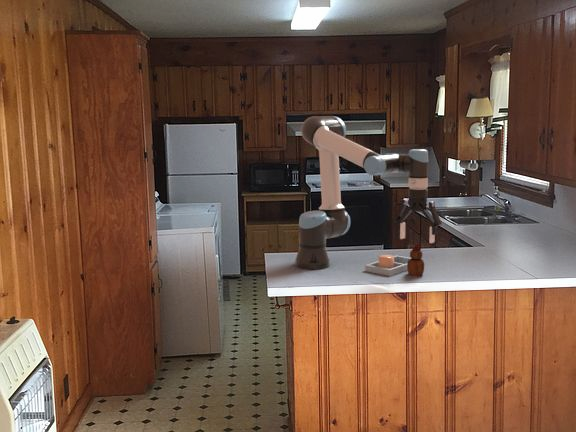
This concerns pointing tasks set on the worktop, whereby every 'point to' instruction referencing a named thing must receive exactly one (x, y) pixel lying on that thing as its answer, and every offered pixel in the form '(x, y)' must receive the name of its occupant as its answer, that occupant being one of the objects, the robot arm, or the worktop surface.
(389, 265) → the orange square block
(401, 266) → the gray tray
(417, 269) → the wooden figurine
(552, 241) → the worktop surface
